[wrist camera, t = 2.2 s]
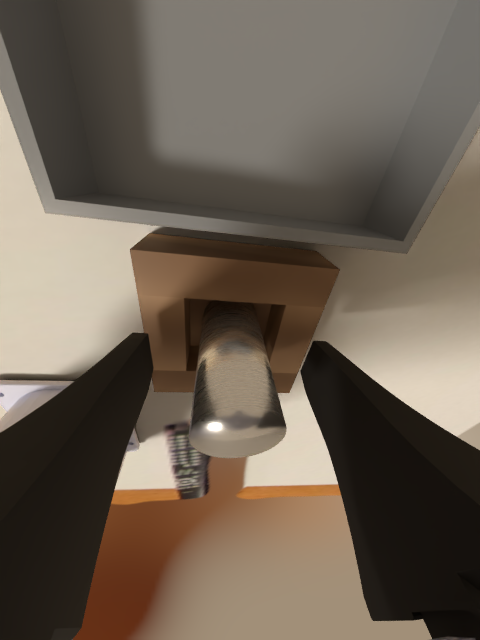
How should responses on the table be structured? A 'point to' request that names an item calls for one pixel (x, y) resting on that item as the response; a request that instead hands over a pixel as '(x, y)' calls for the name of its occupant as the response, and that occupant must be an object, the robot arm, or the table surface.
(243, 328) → the pin
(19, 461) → the robot arm
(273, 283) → the pin block
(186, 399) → the table surface
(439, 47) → the tray
